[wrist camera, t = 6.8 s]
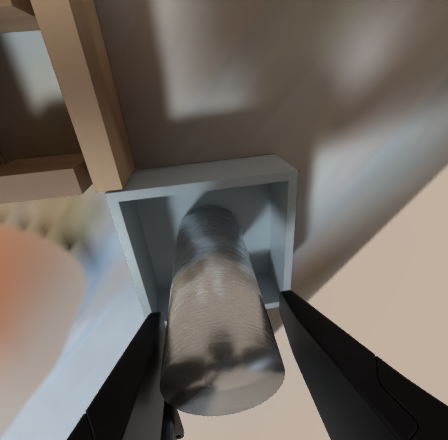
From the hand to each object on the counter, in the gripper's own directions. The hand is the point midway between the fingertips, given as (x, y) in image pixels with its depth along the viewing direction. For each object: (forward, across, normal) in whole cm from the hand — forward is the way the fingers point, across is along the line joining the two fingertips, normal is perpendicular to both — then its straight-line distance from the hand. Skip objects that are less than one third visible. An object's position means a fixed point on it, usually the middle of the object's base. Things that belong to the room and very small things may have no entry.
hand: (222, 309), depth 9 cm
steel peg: (+5, 0, 0) cm, 5 cm away
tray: (+6, 0, 0) cm, 6 cm away
